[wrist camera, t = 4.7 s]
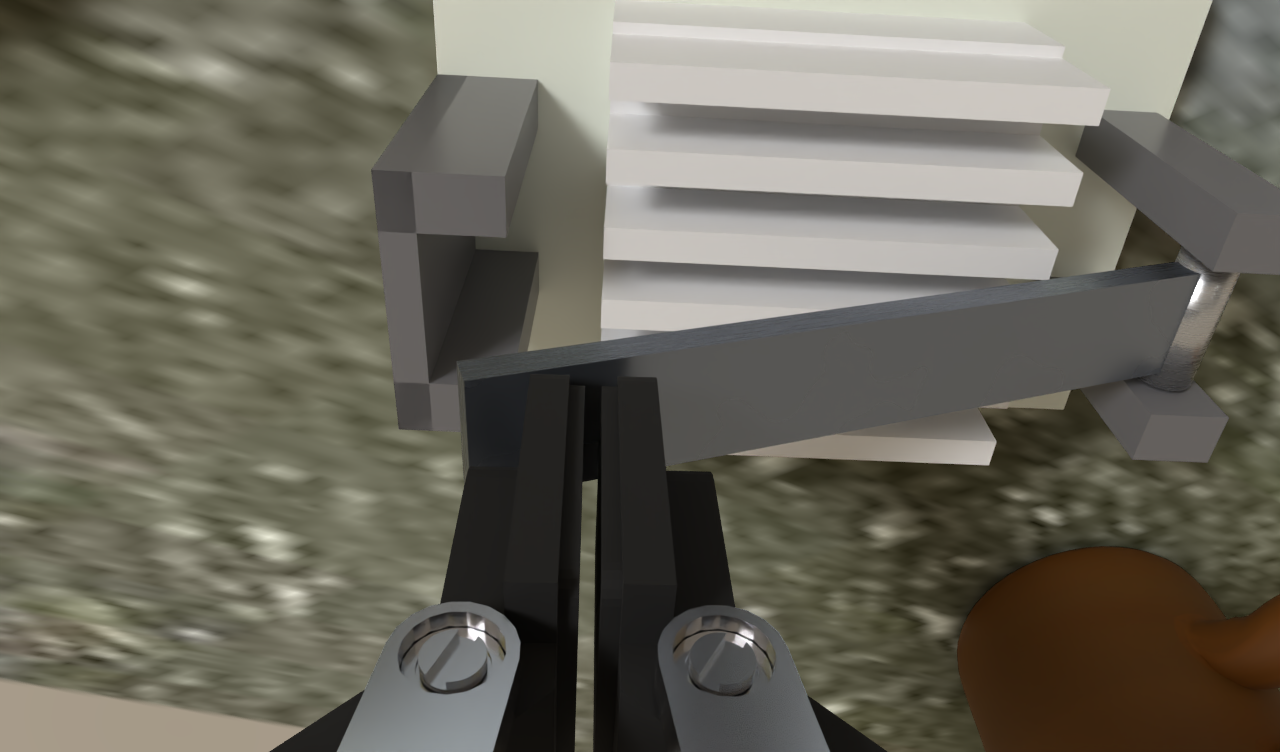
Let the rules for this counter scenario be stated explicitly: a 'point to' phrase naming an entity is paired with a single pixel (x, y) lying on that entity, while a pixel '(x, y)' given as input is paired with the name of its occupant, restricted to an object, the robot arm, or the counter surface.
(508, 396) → the grey long flat bar
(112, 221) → the counter surface
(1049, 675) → the mug
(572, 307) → the heatsink board
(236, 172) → the counter surface
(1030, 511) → the counter surface
